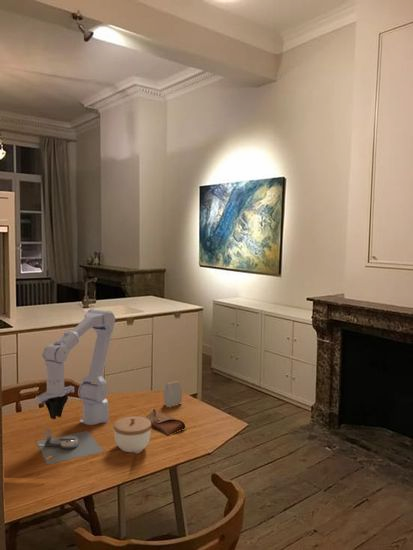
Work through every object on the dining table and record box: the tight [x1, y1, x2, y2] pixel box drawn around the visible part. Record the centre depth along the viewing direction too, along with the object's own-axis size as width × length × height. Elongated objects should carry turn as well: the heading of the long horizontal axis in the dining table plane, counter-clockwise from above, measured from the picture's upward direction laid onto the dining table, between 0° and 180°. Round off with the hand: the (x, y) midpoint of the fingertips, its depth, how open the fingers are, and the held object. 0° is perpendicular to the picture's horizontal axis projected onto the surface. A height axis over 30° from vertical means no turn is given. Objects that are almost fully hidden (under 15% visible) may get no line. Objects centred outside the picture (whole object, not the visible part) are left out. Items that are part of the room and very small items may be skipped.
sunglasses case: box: [145, 408, 186, 436], centre depth 174 cm, size 18×7×7 cm, turn 48°
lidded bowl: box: [113, 415, 152, 455], centre depth 154 cm, size 13×13×11 cm
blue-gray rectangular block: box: [163, 380, 183, 408], centre depth 195 cm, size 4×7×10 cm, turn 131°
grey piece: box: [45, 428, 78, 450], centre depth 153 cm, size 11×6×5 cm, turn 90°
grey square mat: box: [36, 430, 104, 465], centre depth 153 cm, size 18×18×1 cm
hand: (55, 417), depth 156 cm, fingers closed
